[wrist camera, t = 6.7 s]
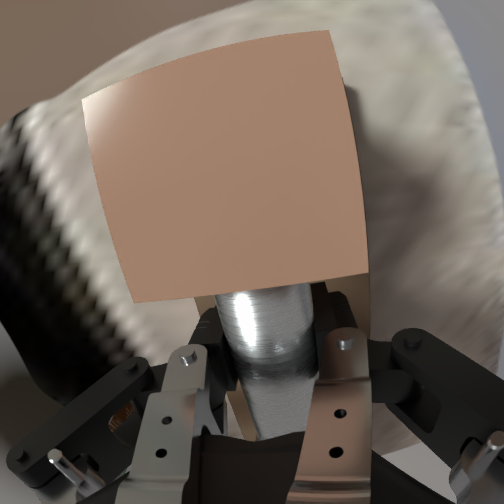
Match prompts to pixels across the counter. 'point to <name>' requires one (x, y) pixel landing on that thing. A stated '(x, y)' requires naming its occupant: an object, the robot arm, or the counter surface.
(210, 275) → the socket
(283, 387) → the tube
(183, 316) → the counter surface
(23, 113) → the counter surface
